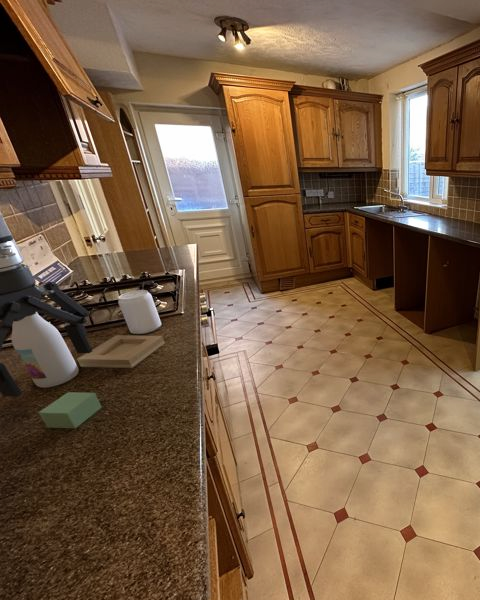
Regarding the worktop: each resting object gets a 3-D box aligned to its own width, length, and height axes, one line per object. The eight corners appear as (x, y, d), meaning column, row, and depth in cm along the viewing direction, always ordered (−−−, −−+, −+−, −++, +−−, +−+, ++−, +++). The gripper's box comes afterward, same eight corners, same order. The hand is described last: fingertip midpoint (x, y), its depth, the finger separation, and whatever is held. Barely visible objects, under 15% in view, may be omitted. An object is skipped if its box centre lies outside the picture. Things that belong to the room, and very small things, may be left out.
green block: (47, 427, 65) (37, 412, 63) (76, 406, 70) (68, 392, 69) (75, 428, 65) (66, 413, 63) (102, 407, 70) (94, 392, 68)
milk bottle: (79, 365, 84) (43, 295, 76) (80, 378, 79) (42, 305, 71) (37, 378, 80) (-6, 305, 71) (36, 393, 74) (-11, 316, 66)
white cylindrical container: (150, 335, 98) (136, 299, 93) (124, 335, 98) (109, 300, 93) (167, 323, 105) (156, 289, 101) (143, 323, 106) (130, 289, 101)
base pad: (80, 366, 84) (76, 358, 83) (119, 342, 95) (116, 335, 94) (132, 368, 83) (128, 360, 82) (165, 343, 94) (162, 335, 93)
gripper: (-92, 298, 43) (-6, 419, 51) (84, 249, 66) (123, 338, 74) (-143, 298, 43) (-50, 418, 52) (50, 249, 66) (92, 338, 75)
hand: (52, 371), depth 63 cm, fingers open, 13 cm apart
